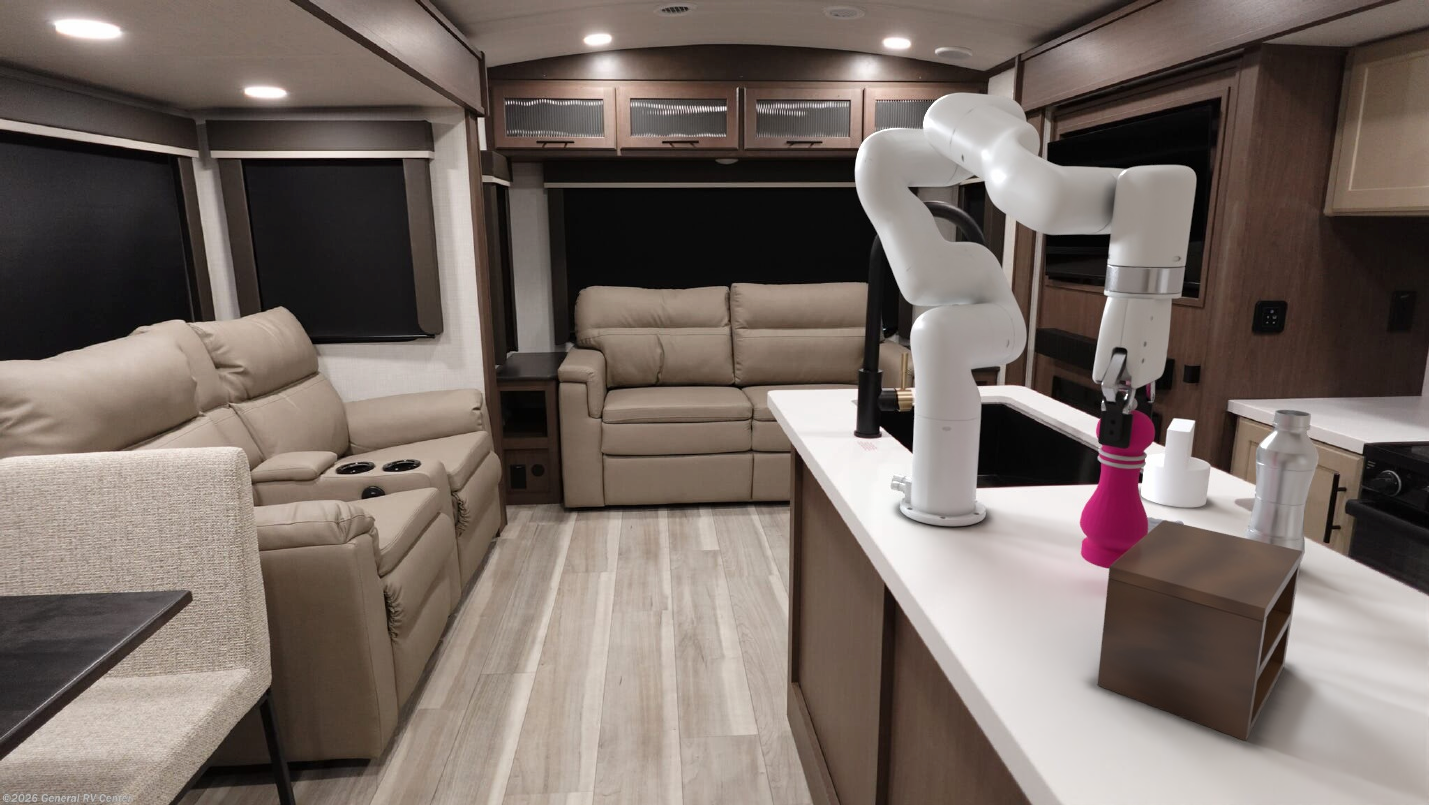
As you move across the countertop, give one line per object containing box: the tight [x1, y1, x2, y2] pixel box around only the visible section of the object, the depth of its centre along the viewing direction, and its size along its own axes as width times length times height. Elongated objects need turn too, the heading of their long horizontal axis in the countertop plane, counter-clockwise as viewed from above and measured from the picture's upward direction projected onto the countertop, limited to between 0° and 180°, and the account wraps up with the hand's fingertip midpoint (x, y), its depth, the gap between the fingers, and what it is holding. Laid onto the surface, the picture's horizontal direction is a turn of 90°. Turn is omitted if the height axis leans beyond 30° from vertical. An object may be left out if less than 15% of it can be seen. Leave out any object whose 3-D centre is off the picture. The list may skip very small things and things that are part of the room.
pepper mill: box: [1079, 396, 1156, 570], centre depth 91 cm, size 7×7×20 cm
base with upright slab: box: [1140, 418, 1212, 509], centre depth 124 cm, size 9×9×12 cm
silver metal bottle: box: [1243, 409, 1320, 562], centre depth 98 cm, size 6×7×20 cm
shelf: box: [1096, 519, 1302, 741], centre depth 74 cm, size 12×16×12 cm
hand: (1124, 438), depth 90 cm, fingers closed on pepper mill, 6 cm apart
